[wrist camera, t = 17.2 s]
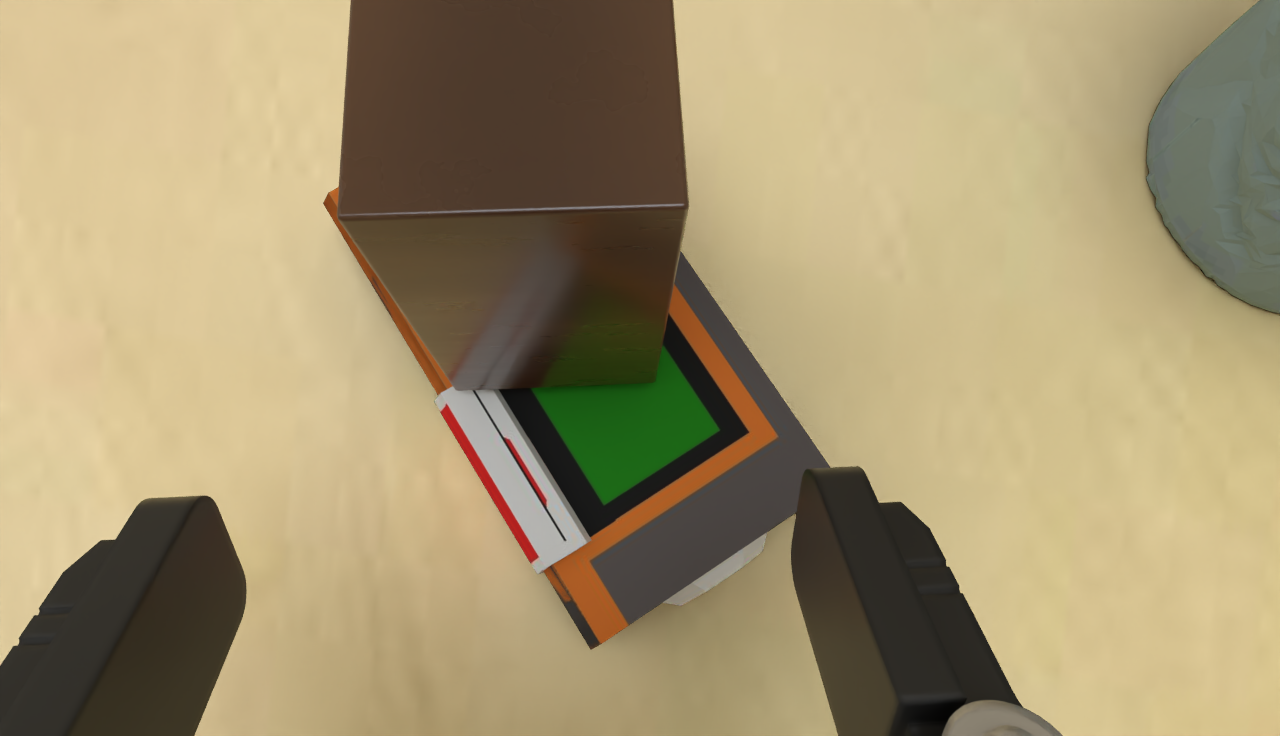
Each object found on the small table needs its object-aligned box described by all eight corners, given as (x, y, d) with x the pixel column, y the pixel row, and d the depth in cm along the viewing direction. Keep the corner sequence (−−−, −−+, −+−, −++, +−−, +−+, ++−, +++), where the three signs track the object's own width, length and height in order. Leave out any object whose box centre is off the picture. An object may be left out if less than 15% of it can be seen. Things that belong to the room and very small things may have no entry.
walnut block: (454, 392, 17) (334, 219, 10) (457, 211, 19) (353, -66, 11) (656, 383, 18) (690, 208, 10) (645, 205, 19) (668, -70, 11)
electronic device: (503, -13, 20) (854, 495, 17) (518, 58, 23) (822, 503, 20) (259, 115, 19) (591, 673, 16) (306, 173, 22) (596, 655, 19)
